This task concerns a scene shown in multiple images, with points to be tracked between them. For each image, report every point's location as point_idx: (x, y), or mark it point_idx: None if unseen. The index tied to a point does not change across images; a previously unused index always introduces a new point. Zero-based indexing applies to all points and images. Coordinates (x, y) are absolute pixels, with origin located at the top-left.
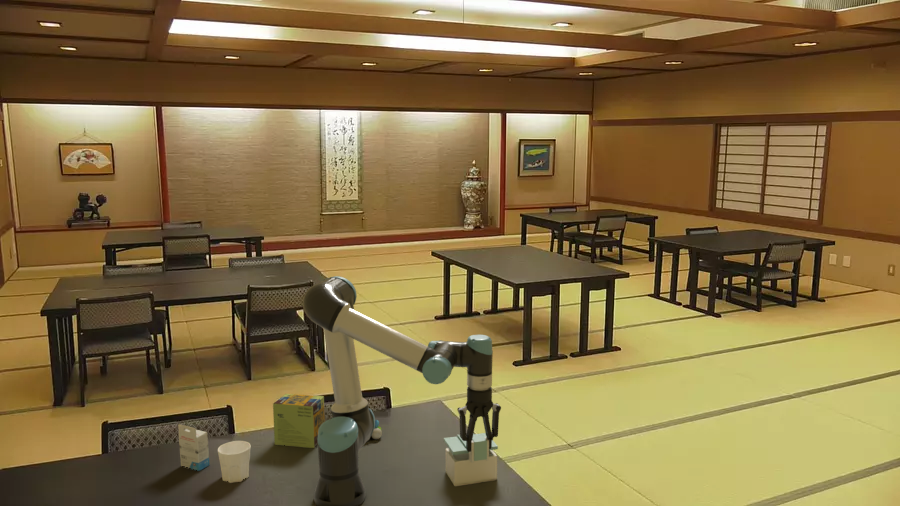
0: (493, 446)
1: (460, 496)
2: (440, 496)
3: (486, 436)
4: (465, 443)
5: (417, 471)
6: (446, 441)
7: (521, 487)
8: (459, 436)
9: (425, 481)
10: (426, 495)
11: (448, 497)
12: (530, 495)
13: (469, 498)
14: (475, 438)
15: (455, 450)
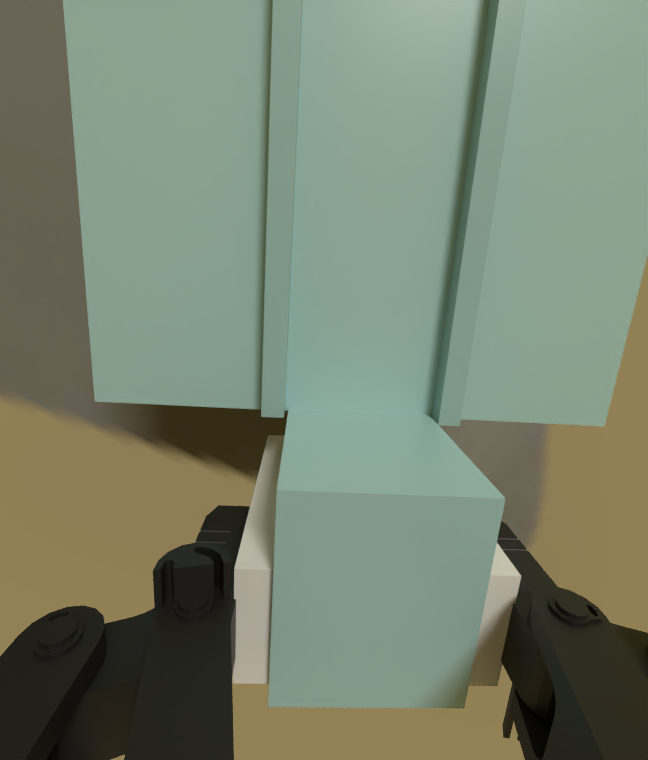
0: (560, 418)
1: (210, 445)
2: (110, 412)
3: (643, 123)
4: (284, 284)
5: (27, 47)
6: (76, 68)
7: (529, 465)
8: (284, 13)
9: (58, 216)
10: (37, 377)
11: (148, 434)
12: (524, 541)
13: (247, 476)
14: (332, 606)
15: (129, 375)
